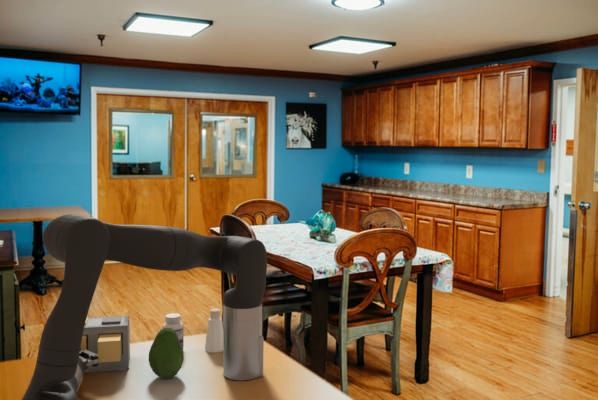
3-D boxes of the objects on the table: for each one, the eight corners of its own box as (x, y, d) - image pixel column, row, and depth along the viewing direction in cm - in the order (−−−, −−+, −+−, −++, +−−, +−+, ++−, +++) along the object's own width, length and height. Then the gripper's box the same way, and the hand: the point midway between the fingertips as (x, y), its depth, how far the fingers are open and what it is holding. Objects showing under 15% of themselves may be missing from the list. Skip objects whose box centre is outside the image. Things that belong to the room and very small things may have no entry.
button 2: (122, 349, 146) (122, 329, 146) (120, 361, 138) (119, 340, 138) (101, 350, 145) (100, 331, 145) (97, 362, 137) (97, 341, 137)
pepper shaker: (203, 352, 156) (203, 312, 155) (206, 345, 162) (207, 306, 160) (223, 353, 156) (223, 312, 155) (226, 346, 161) (226, 307, 160)
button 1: (90, 346, 148) (89, 327, 147) (86, 358, 140) (85, 337, 139) (68, 348, 147) (68, 328, 146) (63, 359, 139) (63, 339, 138)
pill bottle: (160, 349, 158) (160, 313, 158) (180, 346, 161) (180, 311, 160) (165, 355, 154) (165, 319, 153) (185, 352, 156) (185, 317, 155)
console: (129, 357, 152) (129, 313, 151) (128, 369, 144) (127, 323, 143) (63, 361, 148) (62, 316, 147) (58, 374, 140) (57, 326, 139)
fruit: (149, 385, 134) (148, 334, 133) (148, 372, 142) (147, 324, 141) (184, 382, 137) (184, 332, 135) (182, 369, 144) (182, 322, 143)
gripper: (96, 357, 124) (104, 331, 140) (28, 362, 120) (44, 335, 137) (97, 392, 124) (104, 362, 141) (29, 397, 121) (45, 366, 138)
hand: (74, 348), depth 139 cm, fingers closed
